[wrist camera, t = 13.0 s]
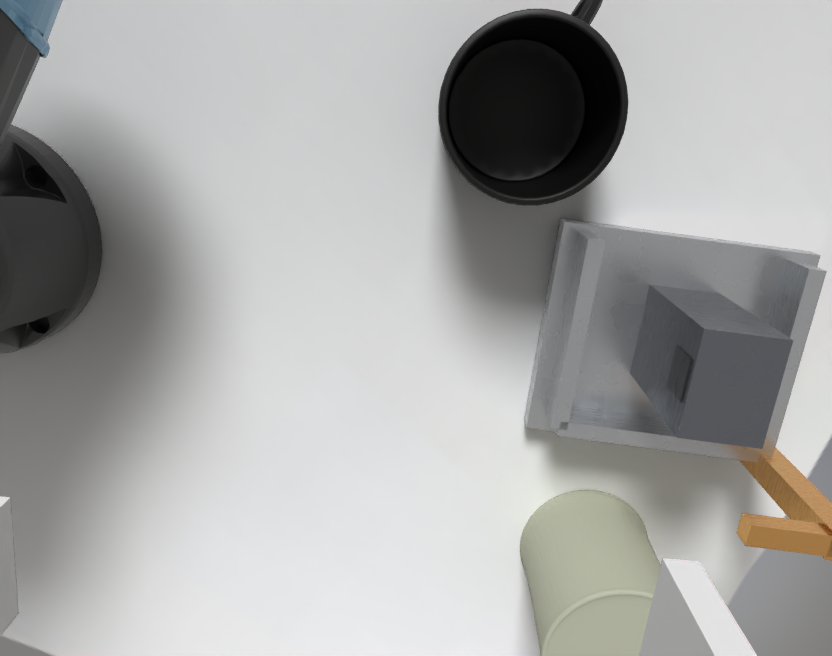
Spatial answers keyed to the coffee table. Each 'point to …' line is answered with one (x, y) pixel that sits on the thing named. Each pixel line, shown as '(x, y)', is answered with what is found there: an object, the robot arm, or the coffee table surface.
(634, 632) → the can
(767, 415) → the dark gray box
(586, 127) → the mug
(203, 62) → the coffee table surface
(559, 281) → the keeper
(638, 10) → the coffee table surface
